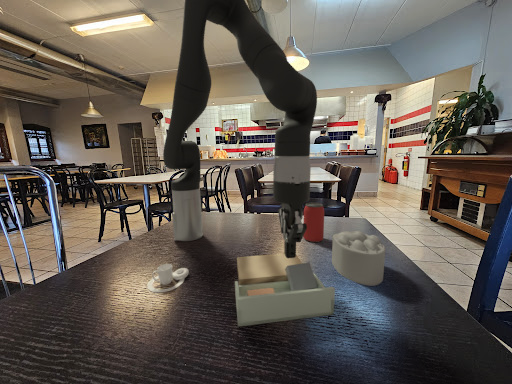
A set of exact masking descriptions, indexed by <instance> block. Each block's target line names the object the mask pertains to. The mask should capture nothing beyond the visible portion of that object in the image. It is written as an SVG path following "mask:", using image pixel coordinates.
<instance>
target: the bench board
mask: <svg viewBox="0 0 512 384" xmlns="http://www.w3.org/2000/svg"><path fill="white" fill-rule="evenodd" d="M302 263H303V262H302V261H301V259H300V258H299V256H298V255H297V254H296V257H295V258H286V256H285V254H284V253H283V252H282V253H273V254H263V255H252V256H251V255H250V256H249V255H247V256H238V257H236V270H237V277H238V278H237V279H238V286H239V285H249V284H259V283H269V282H279V281H288V278H287V275H286V271H285V268H286V267H287V266H289V265H295V264H302Z"/></svg>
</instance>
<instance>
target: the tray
mask: <svg viewBox="0 0 512 384" xmlns="http://www.w3.org/2000/svg"><path fill="white" fill-rule="evenodd" d="M313 274H314V277H315V280H316V283H317V286H318V287H317V288H316V289H308V290H299V291H291V289H290V286H289V282H288V281H279V282H269V283H259V284H249V285H239V280H236V281H234V290H235V291H234V293H235V305H236V306H235V307H236V308H235V309H236V316H237V317H236V320H237V321H236V322H237V327H238V328H239V327H247V326H255V325H262V324H269V323H277V322H287V321H292V320H293V321H294V320H301V319H308V318H316V317H317V318H319V317H325V316H333V315H334V314H335V297H336V296H335V294H336V289H335V287H334V286H327V287H325V285H324V284H323V282H322V281H321V280H320V278H319V277H318V275H316V274H315V273H313ZM265 288H273V290H274V292H275V293H271V294H262V295H253V296H247V291H248V290H257V289H265Z"/></svg>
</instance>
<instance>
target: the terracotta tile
mask: <svg viewBox="0 0 512 384" xmlns="http://www.w3.org/2000/svg"><path fill="white" fill-rule="evenodd" d="M271 293H275V292H274V290H273V288H265V289H257V290H248V291H247V296H253V295H262V294H271Z"/></svg>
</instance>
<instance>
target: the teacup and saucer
mask: <svg viewBox="0 0 512 384" xmlns="http://www.w3.org/2000/svg"><path fill="white" fill-rule="evenodd" d="M155 273H157V276H154V274H155ZM189 273H190V272H189V269H188V268H187V267H181V268H178V269H176V270H175V271H173V265H172V264H171V263H163V264H161V265H159V266H158V267H157V269H156V270H154V271H153V272H152V273H151V276H152V278H151V279H150V280H149V281H148V283H147V284H146V288H147V290H148V291H150V292H152V293H159V294H160V293H166V292H170V291H172V290H175V289H176V288H177V289H178V288H179V287H180V286H181V285H182V284H183V283H184V282H185V278H186V277H188V275H189ZM173 279H174V280H175V281H178V282H177V283H176V284H175V285H173V286H171V287H169V288H168V287H167V288H164V289H157V288H155V287H154V286H153V285H154V283H155V282H157V283H160V284H161V285H163V286H166V285H170V284H171V283H172V281H173Z"/></svg>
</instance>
